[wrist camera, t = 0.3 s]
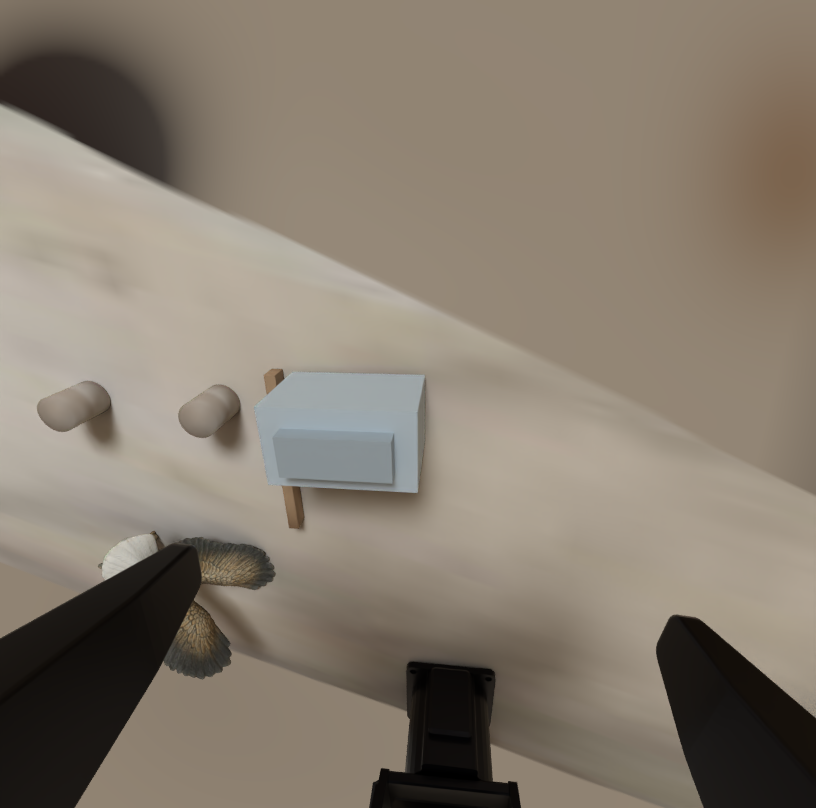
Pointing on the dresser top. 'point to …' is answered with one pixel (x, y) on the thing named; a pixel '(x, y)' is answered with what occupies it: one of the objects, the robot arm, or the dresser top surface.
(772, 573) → the dresser top surface
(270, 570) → the eagle figurine
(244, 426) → the dresser top surface
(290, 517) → the pin seat fixture
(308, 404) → the block
